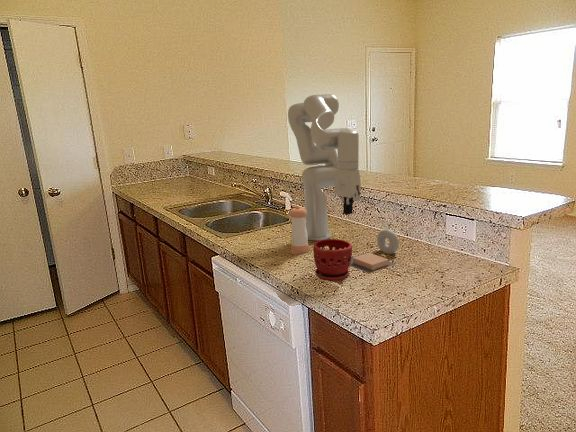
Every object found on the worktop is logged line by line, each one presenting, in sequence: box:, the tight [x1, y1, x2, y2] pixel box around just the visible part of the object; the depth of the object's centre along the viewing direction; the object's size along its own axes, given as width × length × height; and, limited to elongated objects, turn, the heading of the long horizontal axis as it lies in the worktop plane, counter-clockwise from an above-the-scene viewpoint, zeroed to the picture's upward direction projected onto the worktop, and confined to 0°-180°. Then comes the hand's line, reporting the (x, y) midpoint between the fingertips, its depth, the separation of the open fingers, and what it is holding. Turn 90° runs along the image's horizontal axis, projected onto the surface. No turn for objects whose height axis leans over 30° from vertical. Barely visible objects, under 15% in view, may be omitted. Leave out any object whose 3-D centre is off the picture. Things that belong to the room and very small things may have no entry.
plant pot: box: [312, 238, 353, 282], centre depth 150 cm, size 13×13×12 cm
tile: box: [352, 252, 390, 270], centre depth 159 cm, size 2×8×10 cm
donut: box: [376, 228, 400, 255], centre depth 170 cm, size 10×4×10 cm, turn 35°
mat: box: [349, 252, 396, 274], centre depth 161 cm, size 16×13×1 cm
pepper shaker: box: [288, 205, 310, 256], centre depth 176 cm, size 7×7×19 cm
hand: (347, 213), depth 165 cm, fingers closed
